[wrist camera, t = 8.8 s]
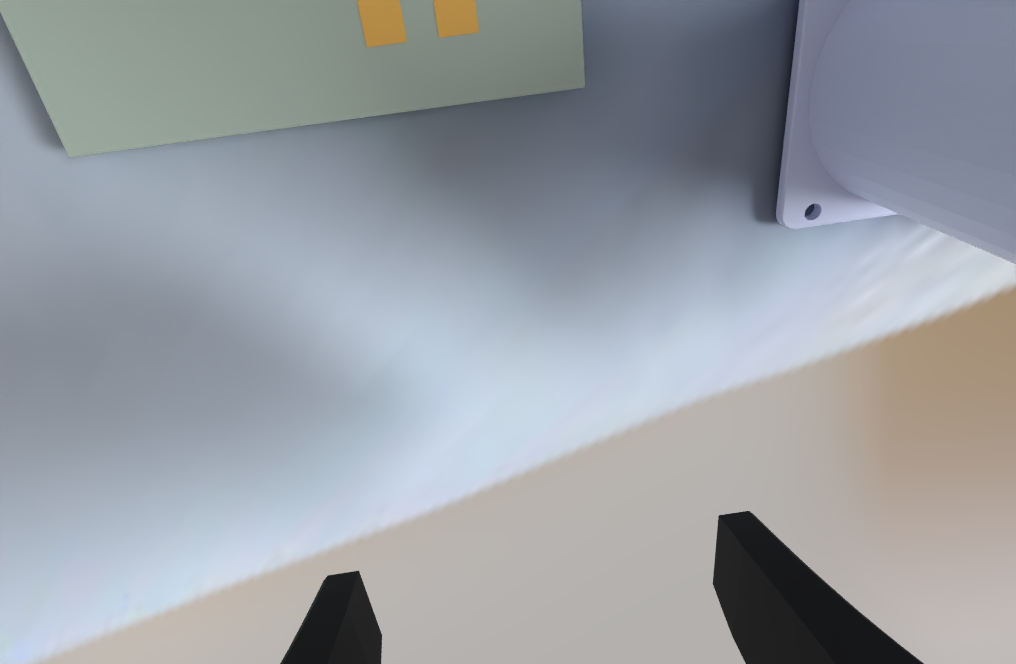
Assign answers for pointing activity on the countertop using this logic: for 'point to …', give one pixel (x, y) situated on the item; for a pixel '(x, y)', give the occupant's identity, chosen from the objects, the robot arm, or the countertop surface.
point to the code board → (279, 62)
